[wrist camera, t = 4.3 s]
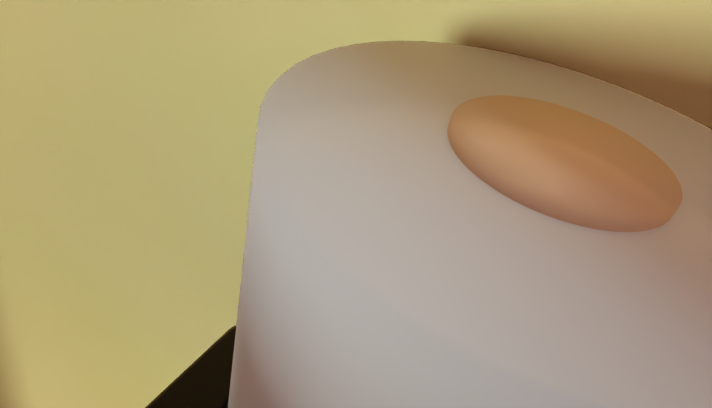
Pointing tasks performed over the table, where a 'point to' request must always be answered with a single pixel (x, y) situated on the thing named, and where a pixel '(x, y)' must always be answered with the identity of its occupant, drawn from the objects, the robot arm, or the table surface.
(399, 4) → the table surface
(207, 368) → the robot arm
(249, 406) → the cylinder
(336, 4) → the table surface
